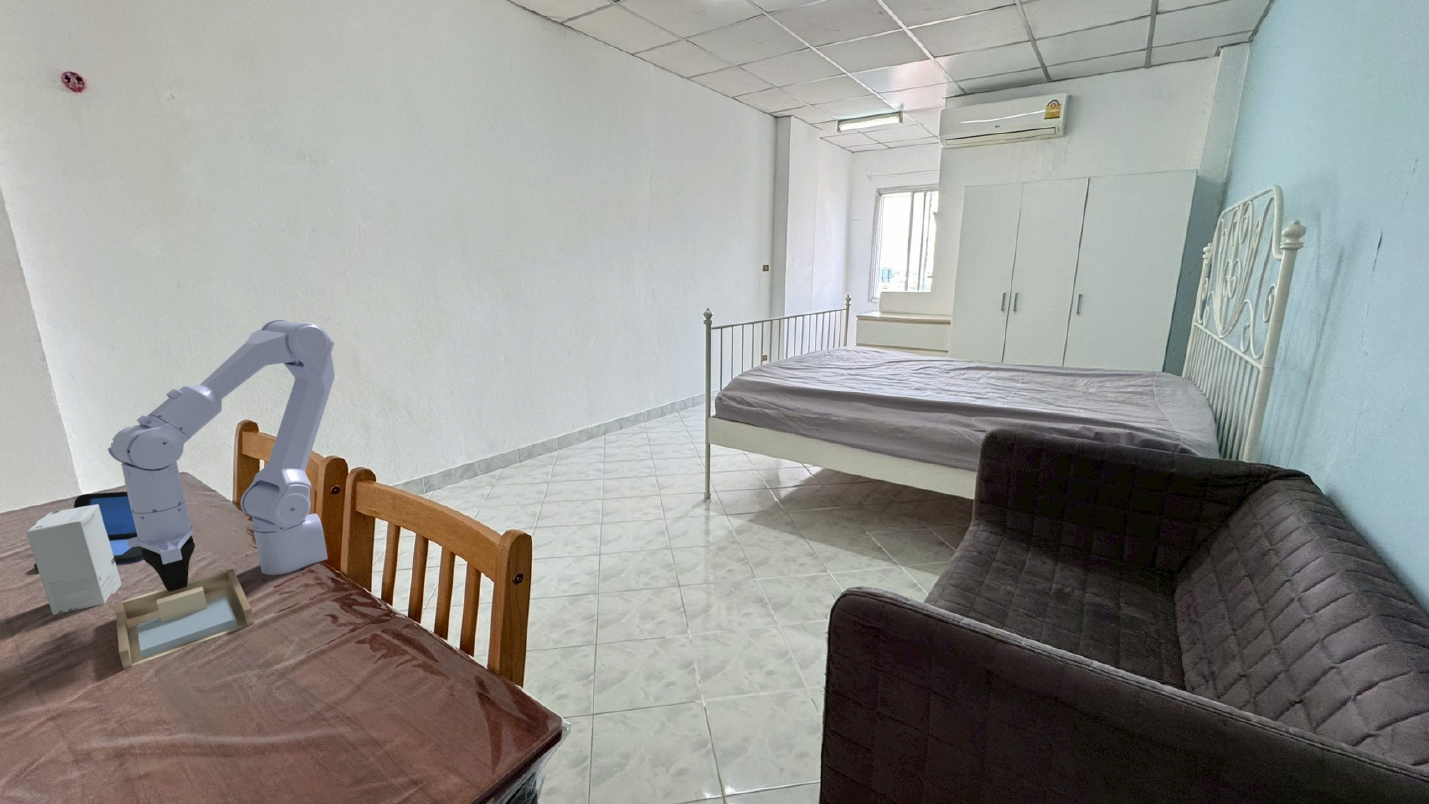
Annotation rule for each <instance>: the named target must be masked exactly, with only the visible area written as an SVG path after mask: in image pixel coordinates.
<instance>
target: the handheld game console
mask: <svg viewBox="0 0 1429 804" xmlns="http://www.w3.org/2000/svg"><path fill="white" fill-rule="evenodd" d="M97 504H98V505H99V508H100V512H101V515H102V519H103V523H104V526H105V529H106V532H107V535H108V539H109V542H110V546H111V549H112V552H113V556H114V559H115V563H116V565H117V564H118V565H119V564H127V563H135V562H140V561H142V560H144V559H143V556H142V548H143V547H141V546H136V547H128V545H127V540H128V539H131V538H135V537H138V536H137V532H136V527H135V523H134V519H133V515H132V511H131V506H130V502H129V498H128V494H127V491H115V492H99V493H98V492H97V493H86V494H81V495H79V496H77V497H76V498H75V501H74V504H73V508H78V507H84V506H90V505H97ZM33 567H34V571H37V572H39V571H38V568H37V565H36V562H35V563H34V564H33Z"/></svg>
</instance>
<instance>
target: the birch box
mask: <svg viewBox="0 0 1429 804" xmlns="http://www.w3.org/2000/svg"><path fill="white" fill-rule="evenodd" d="M201 586H202V587H203V590H204V594H205V599H206V603H207V602H211V601H214V600H217V599H220V598H223V597H227V598H228V600H229V603H230V605H231V608H232V610H233V612H234V615H235V617H236V621H237V626H235V627H232V628H229V629H226V630H223V631H220V632H218V633H215V634H212V635H209V636H206V637H203V638H200V639H197V640H194V641H192V642H189V643H186V644H183V645H180V646H177V647H174V648H171V649H169V650H166V651H163V652H160V653H157V654H154V655H151V656H148V657H145V658H143V659H142V656H141V652H140V645H139V638H138V631H137V624H141V623H144V622H147V621H150V620H153V619H157V618H160V613H159V609H158V605H157V600H158V599H161V598H164V597H168V596H171V595H174V594H178V593H181V592H185V591H188V590H191V589H195V588H198V587H201ZM114 607H115V620H116V631H117V641H118V643H117V645H118V654H119V657H120V661H121V664H122V669H123V670H125V669H128V668H131V667H134V666H136V665H139V664H143V663H145V662H146V663H147V662H148V661H151V660H154V659H157V658H160V657H162V656H165V655H168V654H171V653H174V652H176V651H177V652H178V651H180V650H183V649H185V648H188V647H191V646H194V645H197V644H199V643H203V642H205V641H208V640H211V639H214V638H217V637H219V636H223V635H225V634H229V633H230V632H231V633H232V632H234V631H237V630H239V629H242V628H246V627H248V626H251V625H254V624H255V621H254V617H253V616H254V615H253V611H252V608H251V605H250V603H249V601H248V598H247V596H246V594H245V592H244V590H243V588H242V585H241V583H240V581H239V578H238V576H237V574H236V572H235V570H234V568H231V569H227V570H224V571H221V572H216V573H213V574H210V575H206V576H203V577H200V578H197V579H193V580H188V584H187V587H185V588H181V589H178V590H175V591H171V592H169V591H168V590H167V589H166V587H165V588H162V589H157V590H155V591H151V592H149V593H145V594H141V595H138V596H133V597H130V598H127V599H123V600H120V601H117V602H114Z"/></svg>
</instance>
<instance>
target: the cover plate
mask: <svg viewBox="0 0 1429 804" xmlns="http://www.w3.org/2000/svg"><path fill="white" fill-rule="evenodd" d="M157 605H158V609H159V613H160V618H157V619H153V620H150V621H147V622H144V623H141V624H137V631H138V638H139V645H140V652H141V656H142V659H143V658H145V657H148V656H151V655H154V654H157V653H160V652H163V651H166V650H169V649H171V648H174V647H177V646H180V645H183V644H186V643H189V642H192V641H194V640H197V639H200V638H203V637H206V636H209V635H212V634H215V633H218V632H220V631H223V630H226V629H229V628H232V627H235V626H237V621H236V617H235V615H234V612H233V610H232V608H231V605H230V603H229V600H228V598H227V597H223V598H220V599H217V600H214V601H211V602H207V603H206V599H205V594H204V590H203V587H202V586H201V587H198V588H195V589H191V590H188V591H185V592H181V593H178V594H174V595H171V596H168V597H164V598H161V599H158V600H157Z"/></svg>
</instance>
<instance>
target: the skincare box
mask: <svg viewBox="0 0 1429 804" xmlns="http://www.w3.org/2000/svg"><path fill="white" fill-rule="evenodd" d="M25 533H26V536H27V539H28V542H29V545H30V548H31V553H32V555H33V557H34V561H35V563H36V565H37V568H38V571H37V572H38V573H39V577H40V580H41V582H42V583H41V584H42V586H43V589H44V592H45V595H46V598H47V601H48V604H49V607H50V611H51V614H52V616H53V615H59V614H64V613H68V612H69V613H70V612H72V611H73V612H74V611H78V610H82V609H87V608H91V607H97V606H100V605H104V604H106V603H107V601H108V599H109V598H110V596H111V595H113V594H115V593H116V592H117V591H118V590H119V589H120V588H121V586H122V581H121V577H120V573H119V570H118V567H117V564H116V563H115V559H114V556H113V552H112V549H111V546H110V542H109V539H108V535H107V532H106V529H105V526H104V523H103V519H102V515H101V512H100V508H99V505H98V504H97V505H90V506H84V507H78V508H74V507H73V508H68V509H62V510H56V511H51V512H48V513H47V514H46V515H45V516H44V517H43V518H41V519H38V520H37V521H35V524H34V525H33V526H31V527H30V528H29V529H28V530H26V531H25Z"/></svg>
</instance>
